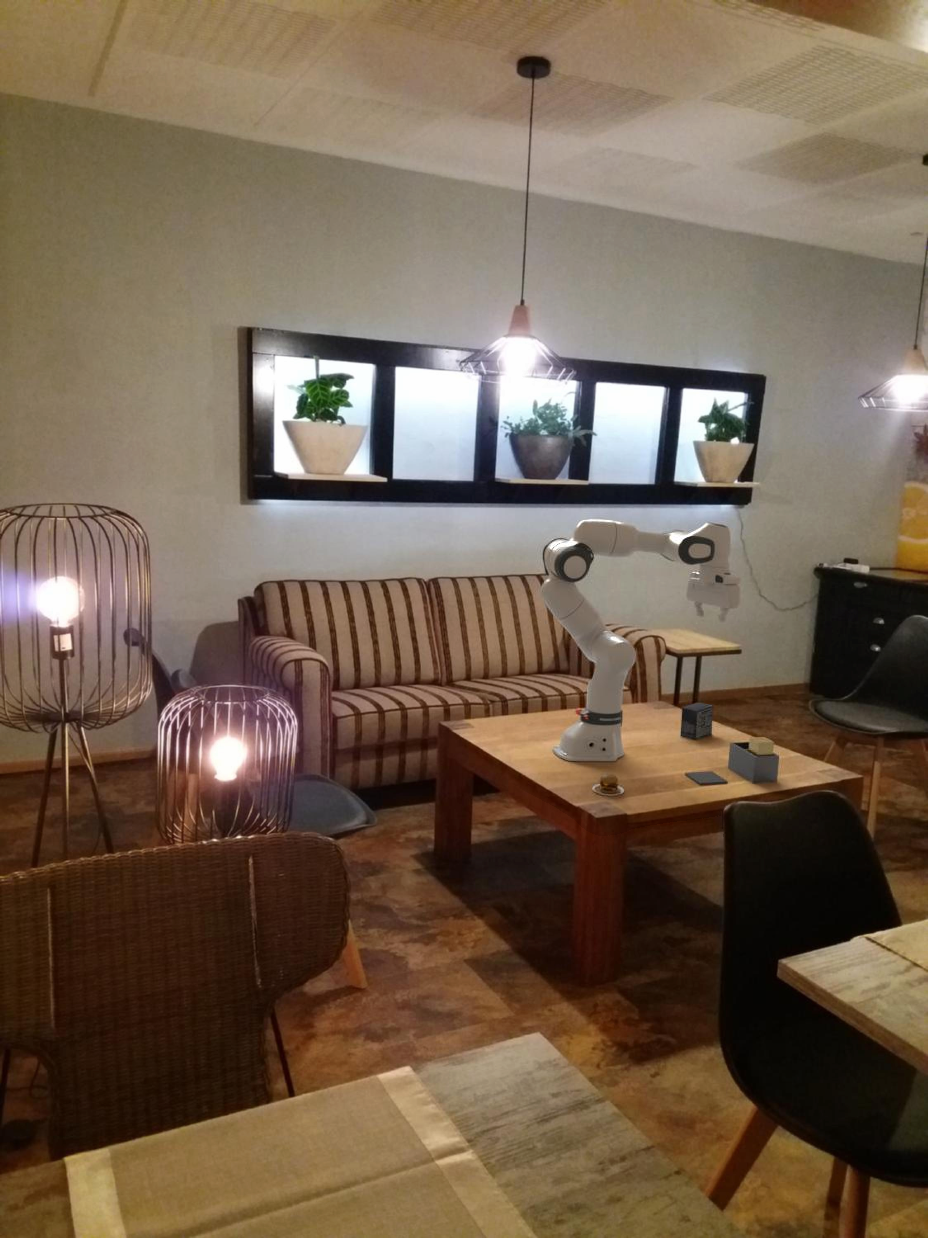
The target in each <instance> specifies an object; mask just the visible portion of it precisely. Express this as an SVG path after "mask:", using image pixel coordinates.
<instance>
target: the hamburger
mask: <svg viewBox="0 0 928 1238" xmlns="http://www.w3.org/2000/svg"><path fill="white" fill-rule="evenodd" d="M619 785H620V784H619V780H618V777H617V776H616V775H614V774H612V773H605V774H604V773H603V775H601V776H600V777H599V783H598V784H594V785H593V786H592V791H594V792H595V793H597V794H599V795H602V796H608V797H609V796H611V797H612V796H619V795H621V794H623V793H625V789H624V788H623V787H622V786H619ZM597 788H599V790H600V792H598V791H597V790H596V789H597ZM618 790H619V791H620V793H617V794H615V793H616V792H618ZM601 792H602V793H601Z"/></svg>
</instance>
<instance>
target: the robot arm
mask: <svg viewBox="0 0 928 1238" xmlns="http://www.w3.org/2000/svg"><path fill="white" fill-rule="evenodd" d="M542 550H543V551H542V561H543V566H544V573H545V574H546V576H548V578H546V579H545V581H543V583H542V584H541V587H540V590H539V593H540V596H541V600H543V602H544V604H545V605H546V607H547V608H548V610H549V611H550V613H551V614H552V615H553V616H554V617H555V619H556V620H557V621H558V622H559V623H560V624H561V626H562V627H563V628H564V629H565V630H566V631H567V633H569V635H570V636H571V637H572V639H573V641H574V642H575V644H576V645H577V646H578V648H579V649H580V650H581V652H582V654H583V655H584V656H585V657H586V658H587V660H589V661H590V662H593V663H594V665H595V669H594V671H593V676H592V678H591V680H589V682H588V684H587V686H586V687H587V690H586V691H587V692H586V706H585V707H584V709H581V708H579V707H577V708H576V709H575V711H574V712H575V715H577V716H580V718H579V720H577V721H576V722H575V723H573V724H572V725H570V726H569V727H568V728H567V729H565V730H564V731H563V732H562V733H561V736H560V737H561V738H560V743H559V744H554V745H553V748H552V751H553V753H554V754H555V755H557V757H559V758H560V759H563V760H565V761H569V762H616V761H617V760H618V758H619V759H620V758H621V757H623V756H624V755H625V752H624V748H623V741H622V726H623V716H624V715H623V714H624V712H623V709H622V708H623V707H622V706H623V691H624V685H625V681H626V678H627V675H628V672H629V670H630V669H631V668H632V667H633V666H634V664H635V662H636V660H637V652H636V648H635V647H634V646H633V645H632V644H631V642H630V641H629V640H628V639H626V638H625V637H623V636H620V635H619V634H616V633H614V632H613V631H612V630H610V629H609V627H608V626H606V624H605V623H604V620H603V619H602V618H601V615H600V612H599V611H598V610H597V609H596V608H595V607H594V605H593V604H592V603H591V602H590V600H588V599H587V597H586V596H585V594H583V592H582V591H581V590H580V588H578V587H577V584H576V583H578V582H579V581H582V580H583V579H585V578H586V576H587V575H588V573H589V571H590V568H591V565H592V563H593V561H594V558H595V556H599V557H600V556H602V557H608V558H610V557H611V558H627V557H630V556H632V555H633V554H634V553H635V552H643V553H653V554H657V555H660V556H662V557H663V558H665V559H667V560H668V561H672V562H676V563H678V564H679V563H680V564H684V565H687V566H695V565H699V568H698V570H699V572H697V571H693V572H692V573H691V574H690V575H689V580H688V583H687V586H686V587H687V588H686V594H685V596H686V599H687V600H688V601H690V602H693V603H694V607H695V611H696V616H697V617H701V618H703V617H704V616H705V611H704V610H703V608H702V606H703V605H704V604H705V605H709V606H715V607H719V608H720V614H719V615H717V622H721V623H723V622H725V621H726V616H727V614H728V613H729V611H730V610H735V609H737V608H738V607H739V605H740V599H741V589H740V588H741V587H740V586H739V585H738V584H741V577H740V576H739V575H737V574H736V573H735V572H733V571H731V570H730V564H729V563H730V562H729V556H730V555H731V554H730V553H731V531H730V528H729V527H728V526H726V525H724V524H720V523H714V522H705V523H704V524H703V525H702V526H701V527H699V528H697V529H695V530H693V531H691V532H690V531H689V532H686V531H684V530H680V529H673V530H670V531H667V532H666V531H665V532H663V533H658V532H648V531H642V530H638V529H637V528H636V527H635V526H634V525H632V524H630V523H627V522H623V521H619V520H614V519H613V520H612V519H602V518H599V519H598V518H597V519H595V518H594V519H593V518H591V519H583V520H581V521H580V522H578V523H577V524H576V526H575V528H574V531H573V535H572V537H571V538H570V539H567V538H564V537H556V538H553V539H550V540H549V541H547V543H545V545H544V547H543V549H542Z"/></svg>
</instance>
